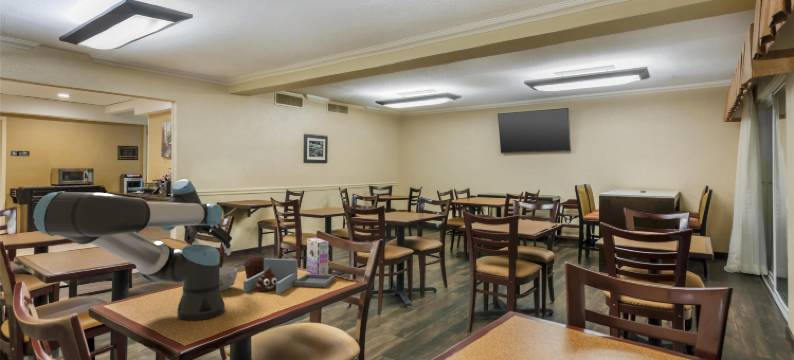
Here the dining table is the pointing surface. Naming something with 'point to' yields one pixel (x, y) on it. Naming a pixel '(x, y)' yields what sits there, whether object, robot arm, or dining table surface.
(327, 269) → the candy box
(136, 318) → the dining table surface
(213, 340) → the dining table surface
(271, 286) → the poop emoji
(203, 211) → the robot arm
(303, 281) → the tray
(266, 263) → the bay
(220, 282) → the teacup
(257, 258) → the muffin
